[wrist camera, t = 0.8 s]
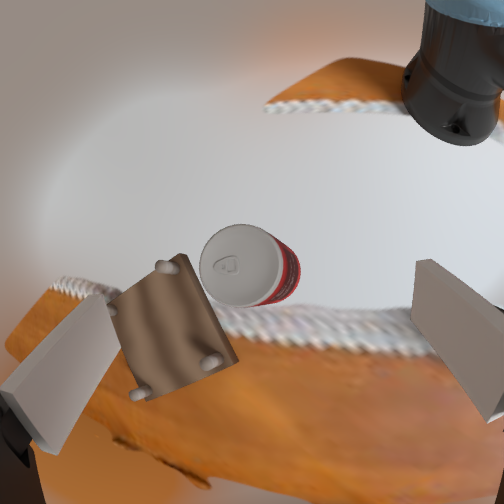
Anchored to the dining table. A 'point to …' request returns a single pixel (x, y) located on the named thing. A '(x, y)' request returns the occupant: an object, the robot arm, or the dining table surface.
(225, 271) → the canned food
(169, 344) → the peg board
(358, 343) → the dining table surface
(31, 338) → the dining table surface
